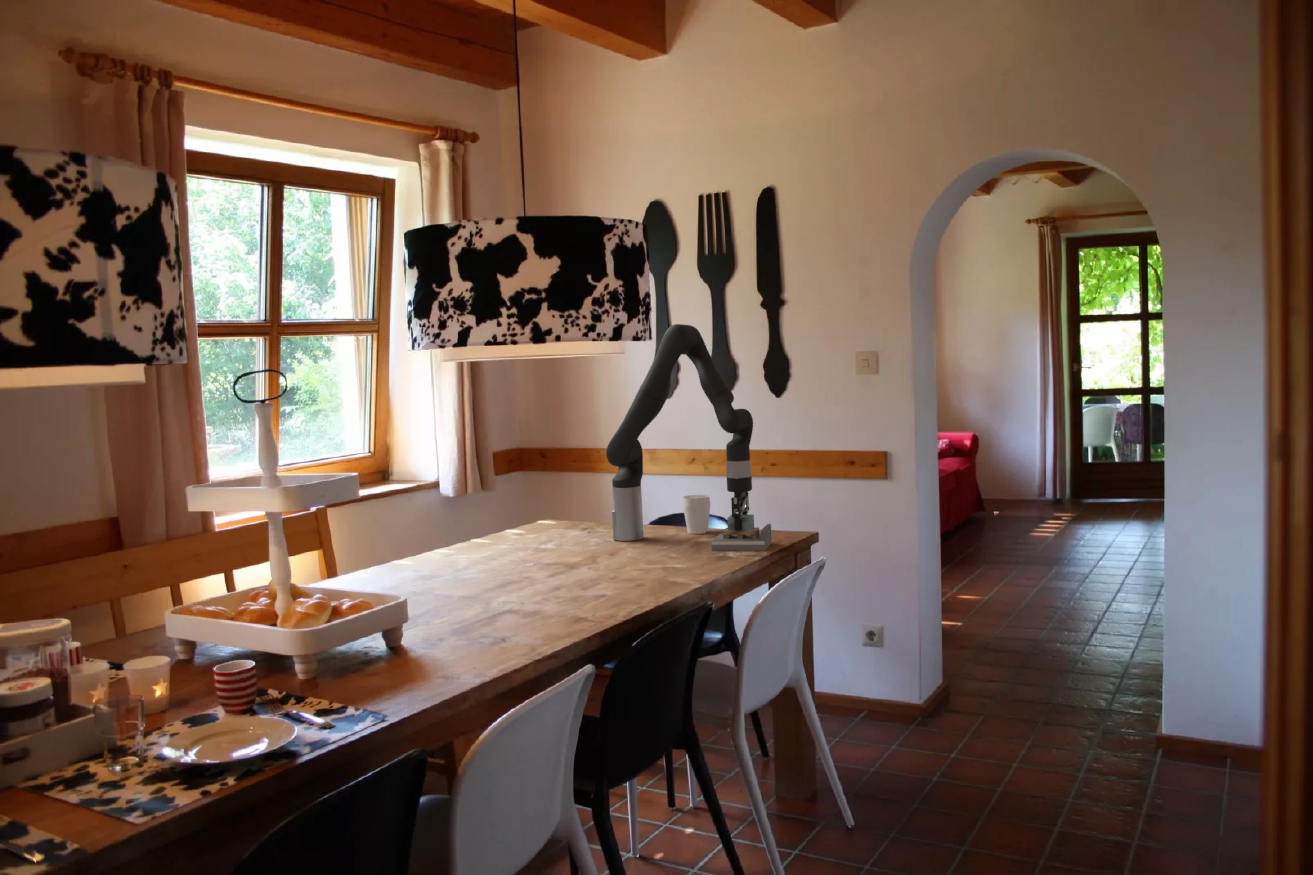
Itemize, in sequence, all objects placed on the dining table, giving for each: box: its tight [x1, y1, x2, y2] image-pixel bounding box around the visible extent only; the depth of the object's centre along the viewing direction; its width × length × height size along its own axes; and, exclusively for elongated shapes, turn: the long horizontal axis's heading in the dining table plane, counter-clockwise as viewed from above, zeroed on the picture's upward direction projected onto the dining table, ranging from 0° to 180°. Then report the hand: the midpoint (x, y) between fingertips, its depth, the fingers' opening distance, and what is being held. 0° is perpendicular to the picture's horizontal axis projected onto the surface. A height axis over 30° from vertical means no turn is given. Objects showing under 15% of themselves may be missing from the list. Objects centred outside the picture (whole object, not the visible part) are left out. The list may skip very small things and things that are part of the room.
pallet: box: [722, 514, 760, 539], centre depth 320 cm, size 10×6×6 cm, turn 74°
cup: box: [682, 494, 711, 535], centre depth 350 cm, size 9×9×12 cm
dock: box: [711, 523, 773, 552], centre depth 320 cm, size 16×12×6 cm
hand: (741, 528), depth 320 cm, fingers open, 8 cm apart
